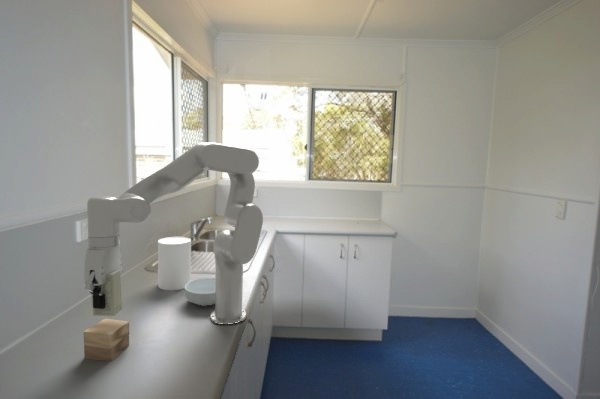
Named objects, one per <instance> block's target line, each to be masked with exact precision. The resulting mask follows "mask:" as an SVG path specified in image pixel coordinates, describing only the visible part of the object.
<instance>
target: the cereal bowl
mask: <svg viewBox="0 0 600 399" xmlns="http://www.w3.org/2000/svg"><path fill="white" fill-rule="evenodd" d="M183 290H184V296H185V299H187V300H188V301H189V302H190V303H192V304H195V305H197V304H198V305H197V306H200V305H201V306H200V307H207V306H206V305H210V306H212V305H211V304H213V305H215V277H203V278H202V277H201V278H196V279H191V281H190V282H188V283H187V284H186V285H185V288H183Z"/></svg>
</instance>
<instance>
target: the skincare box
mask: <svg viewBox="0 0 600 399" xmlns="http://www.w3.org/2000/svg"><path fill="white" fill-rule="evenodd" d="M96 283H98V281H96ZM96 288H98V289H99V288H100V286H97V287H96ZM103 294H105V308H104V309H97V308H93V307H92V317H93V316H95V317H98V316H99V317H116V315H117V314H119V313H120V312H121V311H123V308H122V307H123V306H122V304H123V303H122V279H121V275H120V270H116V271H114V272H112V273H111V274H109V275H108V281H107V283H105V285H104V292H103ZM91 299H92V300H91V302H92V304H91V305H92V306H93V295H91Z"/></svg>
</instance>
